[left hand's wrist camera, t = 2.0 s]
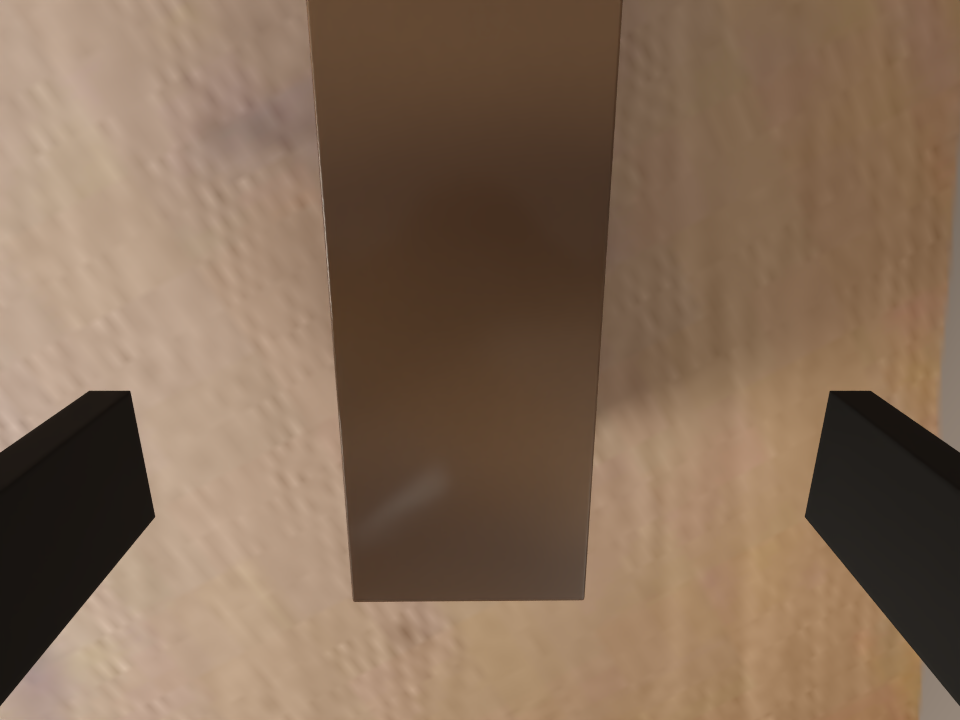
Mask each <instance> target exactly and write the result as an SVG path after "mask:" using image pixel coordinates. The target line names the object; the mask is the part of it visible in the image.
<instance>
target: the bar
mask: <svg viewBox="0 0 960 720" xmlns="http://www.w3.org/2000/svg"><path fill="white" fill-rule="evenodd" d="M622 2H623V0H306V3H307V16H308V28H309V41H310V54H311V67H312V80H313V93H314V106H315V119H316V132H317V145H318V157H319V170H320V183H321V196H322V209H323V222H324V235H325V248H326V261H327V273H328V286H329V299H330V312H331V325H332V338H333V351H334V364H335V377H336V390H337V402H338V415H339V428H340V441H341V454H342V467H343V480H344V493H345V506H346V519H347V531H348V544H349V557H350V570H351V583H352V596H353V601H354V602H399V601H536V600H584V595H585V580H586V564H587V548H588V533H589V517H590V502H591V486H592V470H593V455H594V439H595V424H596V408H597V392H598V377H599V361H600V346H601V330H602V314H603V299H604V283H605V268H606V252H607V236H608V221H609V205H610V190H611V174H612V158H613V143H614V127H615V112H616V96H617V80H618V65H619V49H620V34H621V18H622Z"/></svg>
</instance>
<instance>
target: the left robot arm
mask: <svg viewBox="0 0 960 720" xmlns="http://www.w3.org/2000/svg"><path fill="white" fill-rule="evenodd" d="M154 518H155V513H154V508H153V503H152V498H151V493H150V488H149V483H148V478H147V473H146V468H145V463H144V458H143V453H142V448H141V443H140V438H139V433H138V428H137V423H136V418H135V413H134V408H133V403H132V398H131V393H130V391H88V392H87V393H86V394H84V395H83V396H81V397H80V398H78V399H77V400H75V401H74V402H73V403H71V404H70V405H68V406H67V407H65V408H64V409H62V410H61V411H60V412H58V413H57V414H55V415H54V416H52V417H51V418H50V419H48V420H47V421H45V422H44V423H42V424H41V425H39V426H38V427H37V428H35V429H34V430H32V431H31V432H29V433H28V434H26V435H25V436H24V437H22V438H21V439H19V440H18V441H16V442H15V443H13V444H12V445H11V446H9V447H8V448H6V449H5V450H3V451H2V452H0V706H1V704H2V703H3V702H4V701H5V700H6V698H7V697H8V696H9V695H10V694H11V692H12V691H13V690H14V689H15V687H16V686H17V685H18V684H19V683H20V681H21V680H22V679H23V678H24V676H25V675H26V674H27V673H28V672H29V670H30V669H31V668H32V667H33V665H34V664H35V663H36V662H37V661H38V659H39V658H40V657H41V656H42V654H43V653H44V652H45V651H46V650H47V648H48V647H49V646H50V645H51V643H52V642H53V641H54V640H55V639H56V637H57V636H58V635H59V634H60V632H61V631H62V630H63V629H64V628H65V626H66V625H67V624H68V623H69V621H70V620H71V619H72V618H73V617H74V615H75V614H76V613H77V612H78V610H79V609H80V608H81V607H82V606H83V604H84V603H85V602H86V601H87V599H88V598H89V597H90V596H91V595H92V593H93V592H94V591H95V590H96V588H97V587H98V586H99V585H100V584H101V582H102V581H103V580H104V579H105V578H106V576H107V575H108V574H109V573H110V571H111V570H112V569H113V568H114V567H115V565H116V564H117V563H118V562H119V560H120V559H121V558H122V557H123V556H124V554H125V553H126V552H127V551H128V549H129V548H130V547H131V546H132V545H133V543H134V542H135V541H136V540H137V538H138V537H139V536H140V535H141V534H142V532H143V531H144V530H145V529H146V527H147V526H148V525H149V524H150V523H151V521H152V520H153V519H154ZM805 518H806V519H807V520H808V521H809V523H810V524H811V525H812V526H813V527H814V529H815V530H816V531H817V532H818V534H819V535H820V536H821V537H822V538H823V540H824V541H825V542H826V543H827V545H828V546H829V547H830V548H831V549H832V551H833V552H834V553H835V554H836V556H837V557H838V558H839V559H840V560H841V562H842V563H843V564H844V565H845V567H846V568H847V569H848V570H849V571H850V573H851V574H852V575H853V576H854V578H855V579H856V580H857V581H858V582H859V584H860V585H861V586H862V587H863V588H864V590H865V591H866V592H867V593H868V595H869V596H870V597H871V598H872V599H873V601H874V602H875V603H876V604H877V606H878V607H879V608H880V609H881V610H882V612H883V613H884V614H885V615H886V617H887V618H888V619H889V620H890V621H891V623H892V624H893V625H894V626H895V628H896V629H897V630H898V631H899V632H900V634H901V635H902V636H903V637H904V639H905V640H906V641H907V642H908V643H909V645H910V646H911V647H912V648H913V650H914V651H915V652H916V653H917V654H918V656H919V657H920V658H921V659H922V661H923V662H924V663H925V664H926V665H927V667H928V668H929V669H930V670H931V672H932V673H933V674H934V675H935V676H936V678H937V679H938V680H939V681H940V682H941V684H942V685H943V686H944V687H945V689H946V690H947V691H948V692H949V693H950V695H951V696H952V697H953V698H954V700H955V701H956V702H957V703H958V704H959V706H960V452H958V451H957V450H955V449H954V448H952V447H951V446H949V445H948V444H947V443H945V442H944V441H942V440H941V439H939V438H938V437H936V436H935V435H934V434H932V433H931V432H929V431H928V430H926V429H925V428H923V427H922V426H921V425H919V424H918V423H916V422H915V421H913V420H912V419H910V418H909V417H908V416H906V415H905V414H903V413H902V412H900V411H899V410H898V409H896V408H895V407H893V406H892V405H890V404H889V403H887V402H886V401H885V400H883V399H882V398H880V397H879V396H877V395H876V394H874V393H873V392H872V391H830V393H829V398H828V403H827V408H826V413H825V418H824V423H823V428H822V433H821V438H820V443H819V448H818V453H817V458H816V463H815V468H814V473H813V478H812V483H811V488H810V493H809V498H808V503H807V508H806V513H805Z"/></svg>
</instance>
